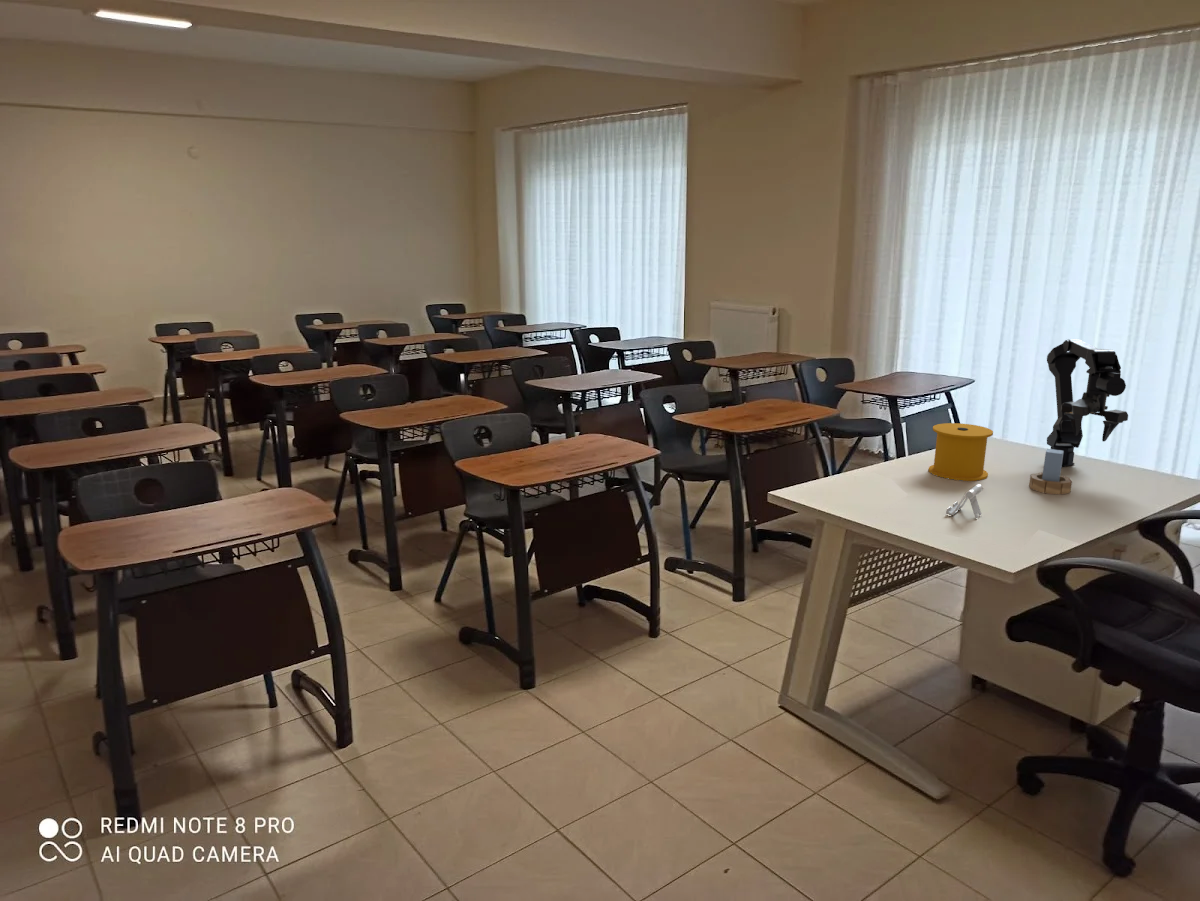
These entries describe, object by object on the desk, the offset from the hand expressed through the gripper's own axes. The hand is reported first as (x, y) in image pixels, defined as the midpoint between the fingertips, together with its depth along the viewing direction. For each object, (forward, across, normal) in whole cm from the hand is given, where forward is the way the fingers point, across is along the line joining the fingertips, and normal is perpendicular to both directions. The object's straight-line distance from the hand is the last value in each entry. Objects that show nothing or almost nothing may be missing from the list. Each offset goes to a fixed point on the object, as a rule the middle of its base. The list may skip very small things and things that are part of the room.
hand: (1089, 438), depth 268 cm
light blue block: (+13, +3, -21) cm, 25 cm away
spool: (+13, -22, -32) cm, 41 cm away
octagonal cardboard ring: (+13, +3, -21) cm, 25 cm away
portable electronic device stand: (+13, +8, -64) cm, 66 cm away
